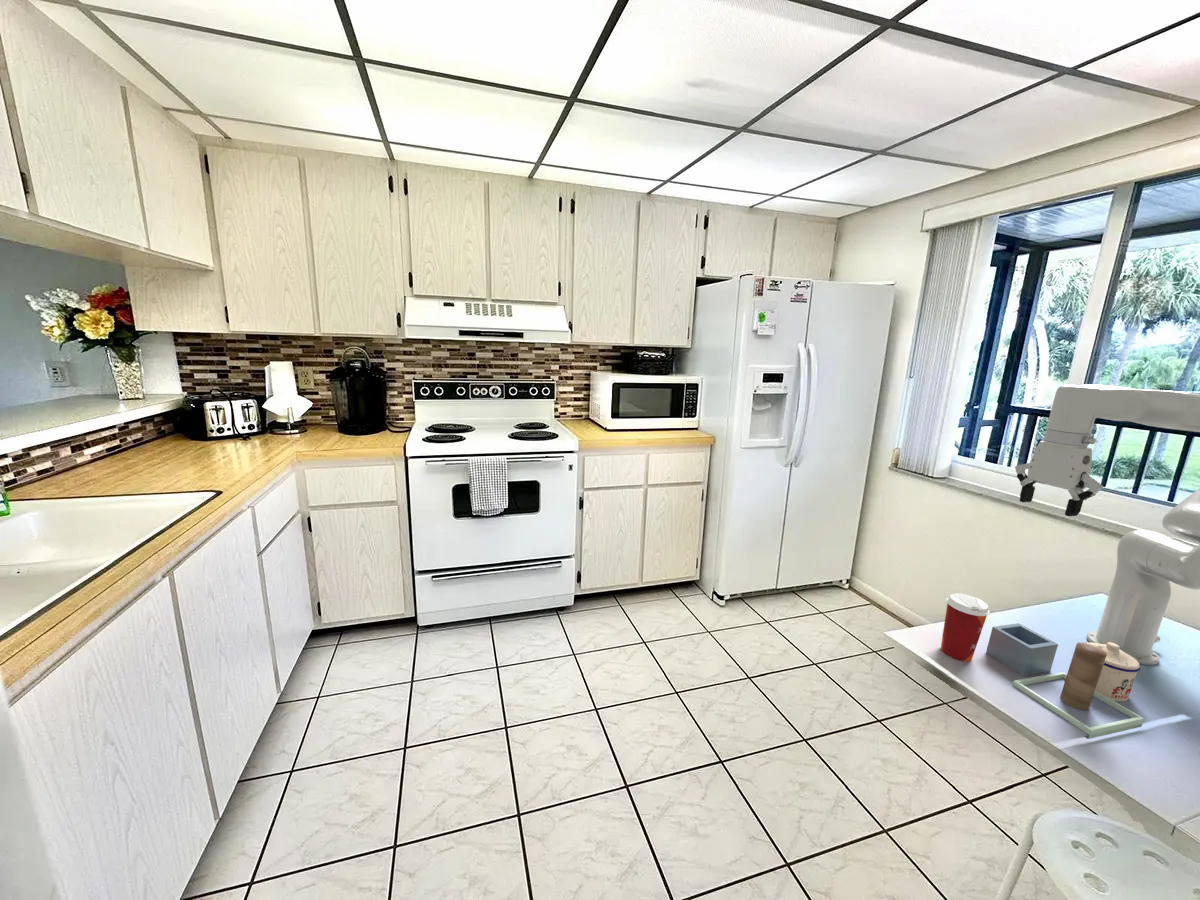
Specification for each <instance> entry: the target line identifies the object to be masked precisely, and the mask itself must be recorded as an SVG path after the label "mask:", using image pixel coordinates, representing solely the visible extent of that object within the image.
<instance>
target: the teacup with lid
mask: <svg viewBox="0 0 1200 900" xmlns="http://www.w3.org/2000/svg"><path fill="white" fill-rule="evenodd" d="M1086 643H1087V644H1091V645H1094V646H1096V647H1098V648H1100V649H1102V650H1103V651H1105V652H1106V654H1107V656H1106V659H1105V662H1104V665H1103V668H1102V671H1101V674H1100V677H1099V680H1098V683H1097V686H1096V689H1095V690H1096V691H1097V692H1099V693H1101V694H1103V695H1104V696H1106V697H1108V698H1110V699H1111V700H1113V701H1115V702H1125V701H1128V700H1129V697H1130V694H1131V692H1132V688H1133V686H1134V683H1135V679H1136V676H1137V674H1138V672H1139V671H1140V670H1141V664H1139V663H1138V661H1137V660H1136V659H1134V658H1133V657H1132V656H1130V655H1128V654H1127V653H1125V652H1123V651H1122V650H1120V647H1119V646H1118V645H1117V644H1115V643H1111V642H1108V643H1107V644H1099V643H1090V642H1086Z"/></svg>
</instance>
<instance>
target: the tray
mask: <svg viewBox="0 0 1200 900" xmlns="http://www.w3.org/2000/svg"><path fill="white" fill-rule="evenodd" d="M1066 676H1067V672H1064V671H1061V672H1055V673H1049V674H1048V673H1047V674H1044V675H1038V676H1033V677H1027V678H1026V677H1025V678H1020V679H1015V680H1013V682H1012V686H1014V687H1015V688H1017V689H1018V690H1020V691H1022V693H1024V694H1026V695H1028V696H1029V697H1031V698H1032V699H1034V700H1035V701H1037V702H1038V703H1040V704H1042V705H1043V706H1045V707H1046V708H1047V709H1049V710H1050V711H1052V712H1053V713H1056V714H1057V715H1058V716H1060V717H1062V719H1065V720H1066V721H1067V722H1069V723H1071V724H1072V725H1074V726H1075V727H1077V728H1078V729H1080V730H1081V731H1082V732H1084V733H1086V734H1088V735H1084V737H1085V738H1086V739H1088V740H1089V739H1090V740H1091V739H1094V738H1095V739H1096V738H1099V737H1103V736H1107V735H1112V734H1115V733H1116V734H1117V733H1120V732H1126V731H1129V730H1134V729H1137V728H1141V727H1142V726H1143V724H1144V720H1145V718H1144V717H1142V716H1141V715H1139V714H1137V713H1136V712H1134V711H1133V710H1130V709H1128V708H1127V707H1125V706H1124V705H1122V704H1120V703H1118V701H1114V700H1111V699H1110V698H1108V697H1106V696H1104V695H1103V694H1101V693H1099V692H1097V691H1096V690H1095V692H1094V695H1093V697H1095V698H1096V699H1098V700H1100V701H1102V702H1103V703H1105V704H1107V705H1109V706H1110V707H1112V708H1113V709H1116V710H1117V711H1119V712H1120V713H1123V714H1124V715H1125V716H1127V717H1130V718H1126V719H1122V720H1117V721H1112V722H1108V723H1103V724H1098V725H1095V726H1094V725H1093V726H1088V725H1087V724H1085V723H1083V722H1082V721H1080V720H1079V719H1077V718H1076V717H1074V716H1073V715H1071V714H1070V713H1068V712H1066V711H1065V710H1063V709H1062V708H1060V707H1059V706H1057V705H1055V704H1053V702H1051V701H1050V700H1048V699H1046V698H1044V697H1042V696H1041V695H1039V694H1038V693H1037V692H1035V691H1034V690H1032V689H1030V688H1029V687H1027V685H1032V684H1038V683H1043V682H1048V681H1054V680H1055V681H1056V680H1061V679H1064V680H1065V679H1066Z"/></svg>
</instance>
